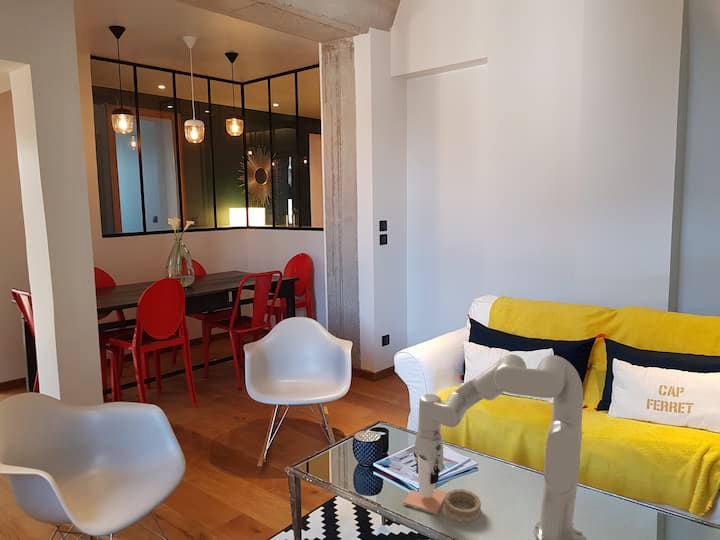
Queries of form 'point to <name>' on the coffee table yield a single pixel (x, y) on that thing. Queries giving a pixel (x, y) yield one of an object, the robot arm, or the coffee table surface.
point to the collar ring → (460, 514)
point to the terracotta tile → (426, 501)
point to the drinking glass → (425, 478)
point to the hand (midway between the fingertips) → (427, 476)
